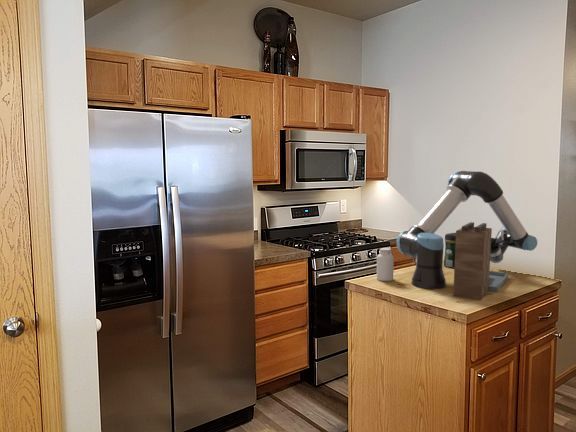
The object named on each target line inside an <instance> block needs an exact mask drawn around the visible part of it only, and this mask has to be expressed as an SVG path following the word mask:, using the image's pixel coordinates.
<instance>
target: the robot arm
mask: <svg viewBox="0 0 576 432" xmlns="http://www.w3.org/2000/svg"><path fill="white" fill-rule="evenodd" d="M447 182H448V183H447V186H446V192H445V193H444V194H443V195H442V196H441V197H440V198H439V200H438V201H437V202H436V203H435V204H434V205H433V206H432V208H431V209H430V210H429V211H428V212H427V213H426V214H425V216H424V217H423V218H422V219H421V220H420V221H419V223H418V224H414V225H412V226H411V227H410V228H409V229H408V230H404V231H401V232H400V233H399V235H398V236H397V238H396V247H397V250H398V251H399V253H400V254H402V255H404V256H406V257H409V258H410V257H411V258H414V259H416V260H415V264H416V265H415V269H414V272H413V274H412V277H411V285H413V286H415V287H417V288H421V289H429V290H430V289H431V290H433V289H435V290H439V289H444V288H446V286H447V284H446V283H447V281H446V278H445V273H444V270H443V266H444V249H445V248H444V246H445V243H444V238H443V237H442V236H441V235H439V234H436V231H437V230H438V229H439V228H440V227H441V226H442V225H443V223H444V222H445V221H446V220H447V219H448V218H449V217H450V215H452V213H453V212H454V211H455V210H456V208H457V207H459V205H461V203H465V202H467V201H468V200H469V198H470V197H471V196H476V197H479V198H481V200H482V201H483V202H484V203H486V204H488V205H489V207H490V209H491V211H493V213H494V214H495V216H496V217H497V219H498V220H499V222H500V223H501V225H502V227H501V228H500V230H499V231H498V232H497V234H496V236H495V237H491V252H490V263H493V264H499V263H501V262H502V261H503V260H504V254H505V252H506V251H507V250H508V248H509V247H511V248H515V249H520V250H523V251H530V252H531V251H533V250H535V249H536V248H537V246H538V239H537V237H535V236H534V235H531V234H529V233H528V231H527V230H526V228H525V227H524V226H523V224H522V222H521V220H520V219H519V217H518V216H517V214H516V213H515V212H514V210H513V209H512V207H511V206H510V204H509V203H508V200H507V199H506V198H505V196H504V191H503V189H502V187H501V186H500V185H499V183H497V181H496V180H495V178H493V177H492V176H491V175H489V174H487V173H486V172H484V171H472V170H470V171H469V170H468V171H467V170H460V171H455V172H453V173H452V174H451V175H450V176H449V178H448V181H447Z"/></svg>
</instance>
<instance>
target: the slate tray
mask: <svg viewBox="0 0 576 432" xmlns="http://www.w3.org/2000/svg"><path fill="white" fill-rule="evenodd" d="M508 279H509V273H508V272H501V271H492V270H490V271H489V290H488V292H492V293H499V292H500V290H501V288H502V287H503V285H504V284H505V283H506V281H507V280H508Z"/></svg>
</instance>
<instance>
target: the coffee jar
mask: <svg viewBox="0 0 576 432" xmlns="http://www.w3.org/2000/svg"><path fill="white" fill-rule="evenodd" d="M444 246H445V248H444V256H443V266H444V267H446V268H448V269H449V268H451V269H454V268H455V246H456V232H450V233H446V234H445V235H444Z"/></svg>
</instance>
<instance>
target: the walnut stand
mask: <svg viewBox="0 0 576 432" xmlns="http://www.w3.org/2000/svg"><path fill="white" fill-rule="evenodd" d="M492 231H493V228H492V227H487V223H485V222H482V223H480V224H479V225H477V226H475V221H473V222H472V221H470V222H468V223H466V224H464V225H462V226H461V228H459V229H457V230H456V231H455V233H456V246H455V268H453V269H454V273H453V291H452V292H453V293H452V294H453V295H452V296H453V297H456V298H462V299H468V300H474V301H482V300H483V298H484V297H486V295H487V294H488V293H489V291H488V290H489V271H491V270H490V268H491V266H490V265H491V261H490V252H491V238H492V233H493V232H492Z"/></svg>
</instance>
